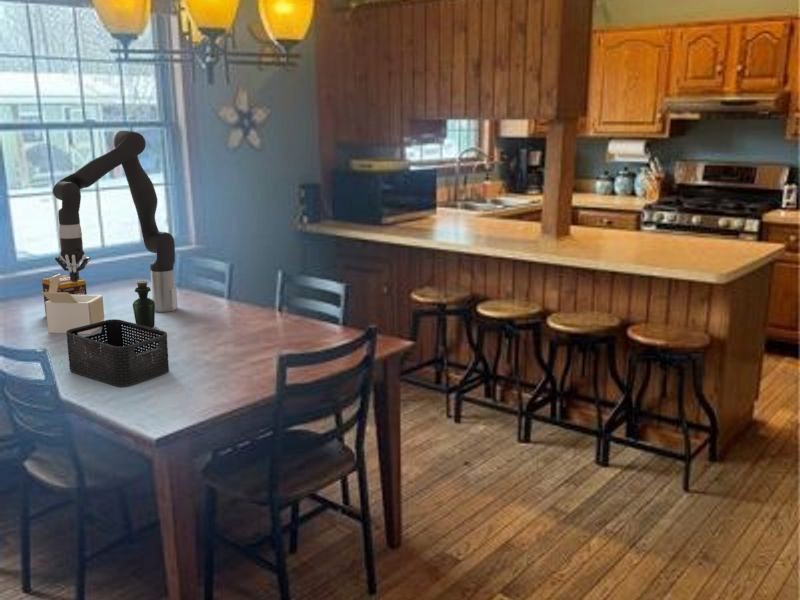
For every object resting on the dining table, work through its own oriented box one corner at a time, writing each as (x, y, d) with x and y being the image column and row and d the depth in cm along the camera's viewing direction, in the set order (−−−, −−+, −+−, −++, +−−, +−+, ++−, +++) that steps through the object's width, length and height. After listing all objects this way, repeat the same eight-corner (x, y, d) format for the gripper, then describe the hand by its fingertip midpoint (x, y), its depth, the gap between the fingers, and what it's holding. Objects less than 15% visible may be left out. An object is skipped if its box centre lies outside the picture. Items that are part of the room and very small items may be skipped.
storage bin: (174, 371, 229) (171, 331, 226) (123, 389, 213) (119, 347, 210) (117, 355, 244) (113, 317, 240) (65, 371, 228) (60, 331, 225)
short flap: (60, 273, 271) (59, 273, 271) (52, 277, 265) (51, 276, 265) (55, 295, 273) (54, 294, 273) (47, 298, 268) (46, 298, 268)
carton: (106, 324, 279) (103, 294, 277) (92, 333, 267) (89, 302, 264) (64, 323, 280) (61, 294, 277) (48, 332, 268) (45, 301, 265)
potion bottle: (134, 331, 271) (131, 285, 267) (134, 325, 279) (130, 280, 274) (157, 329, 274) (154, 283, 270) (155, 323, 282) (152, 279, 277)
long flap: (67, 292, 256) (67, 293, 256) (78, 302, 264) (78, 303, 264) (41, 291, 256) (41, 292, 256) (52, 301, 264) (52, 302, 264)
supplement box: (65, 322, 282) (61, 284, 278) (45, 316, 291) (41, 278, 287) (89, 317, 290) (86, 279, 286) (69, 311, 299) (66, 274, 295)
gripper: (48, 237, 261) (52, 283, 265) (83, 237, 261) (87, 284, 265) (58, 234, 268) (62, 279, 273) (92, 234, 268) (96, 280, 272)
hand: (75, 281), depth 269 cm, fingers closed
